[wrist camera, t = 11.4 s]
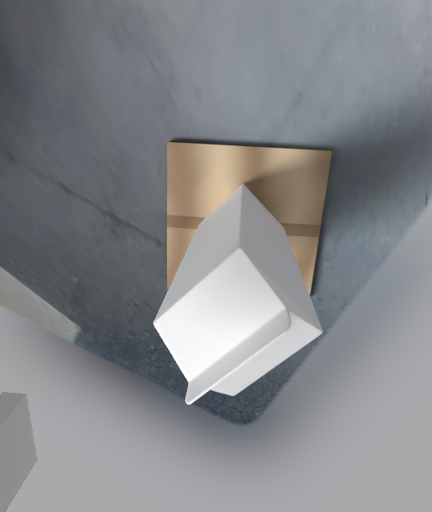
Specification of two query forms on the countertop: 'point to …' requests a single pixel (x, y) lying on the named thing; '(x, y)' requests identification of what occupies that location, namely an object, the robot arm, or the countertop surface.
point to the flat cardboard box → (257, 181)
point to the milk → (236, 300)
